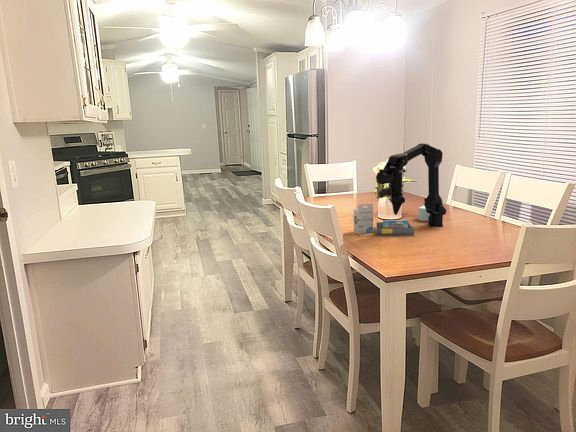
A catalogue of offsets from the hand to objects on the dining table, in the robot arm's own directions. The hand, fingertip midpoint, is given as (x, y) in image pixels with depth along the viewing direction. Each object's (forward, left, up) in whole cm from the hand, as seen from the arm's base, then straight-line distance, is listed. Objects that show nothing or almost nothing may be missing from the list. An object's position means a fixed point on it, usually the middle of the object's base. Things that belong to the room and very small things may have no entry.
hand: (395, 214), depth 213 cm
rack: (0, -4, -10) cm, 11 cm away
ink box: (+15, -4, -10) cm, 19 cm away
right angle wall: (-24, -32, -11) cm, 41 cm away
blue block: (0, 0, -10) cm, 10 cm away
